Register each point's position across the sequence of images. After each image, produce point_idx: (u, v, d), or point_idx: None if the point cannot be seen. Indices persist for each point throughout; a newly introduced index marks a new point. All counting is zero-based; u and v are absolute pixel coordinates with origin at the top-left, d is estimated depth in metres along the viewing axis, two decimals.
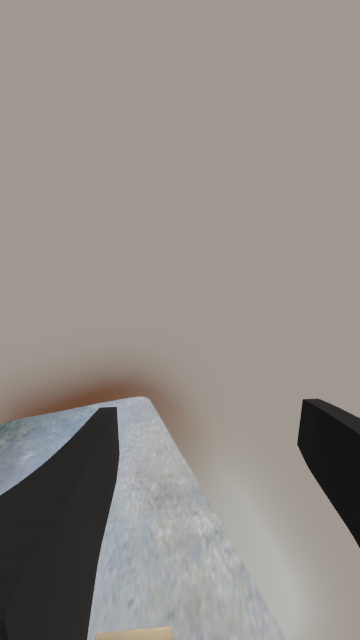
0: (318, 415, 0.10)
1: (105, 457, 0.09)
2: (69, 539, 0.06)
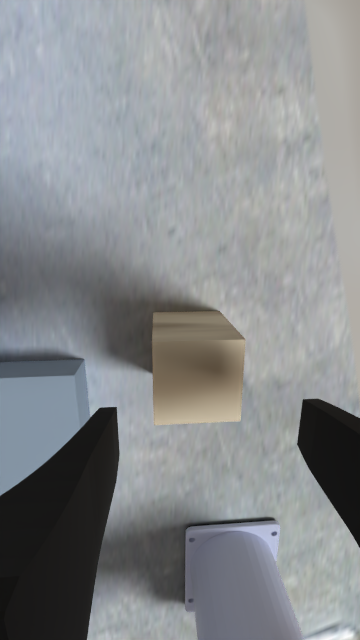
0: (318, 415, 0.10)
1: (105, 457, 0.09)
2: (69, 539, 0.06)
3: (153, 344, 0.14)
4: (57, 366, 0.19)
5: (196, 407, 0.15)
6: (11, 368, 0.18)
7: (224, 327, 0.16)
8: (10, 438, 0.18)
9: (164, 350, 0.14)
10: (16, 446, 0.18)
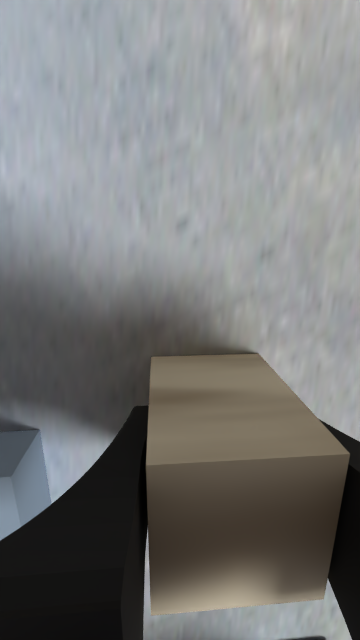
0: None
1: None
2: (136, 534, 0.06)
3: (149, 470, 0.06)
4: None
5: (238, 581, 0.07)
6: None
7: (286, 404, 0.08)
8: None
9: (172, 481, 0.06)
10: None
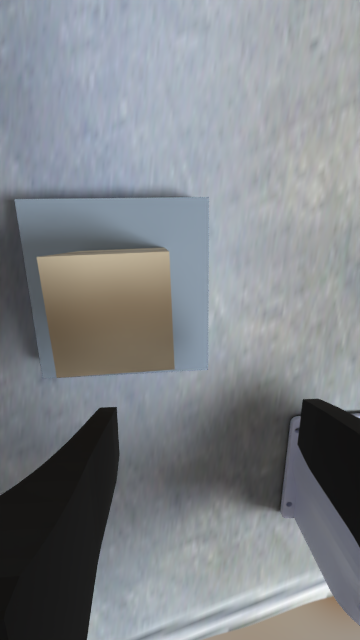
0: (318, 415, 0.10)
1: (105, 457, 0.09)
2: (70, 538, 0.06)
3: (39, 260, 0.10)
4: None
5: (112, 351, 0.11)
6: None
7: (153, 250, 0.12)
8: None
9: (55, 269, 0.10)
10: None
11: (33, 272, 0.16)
